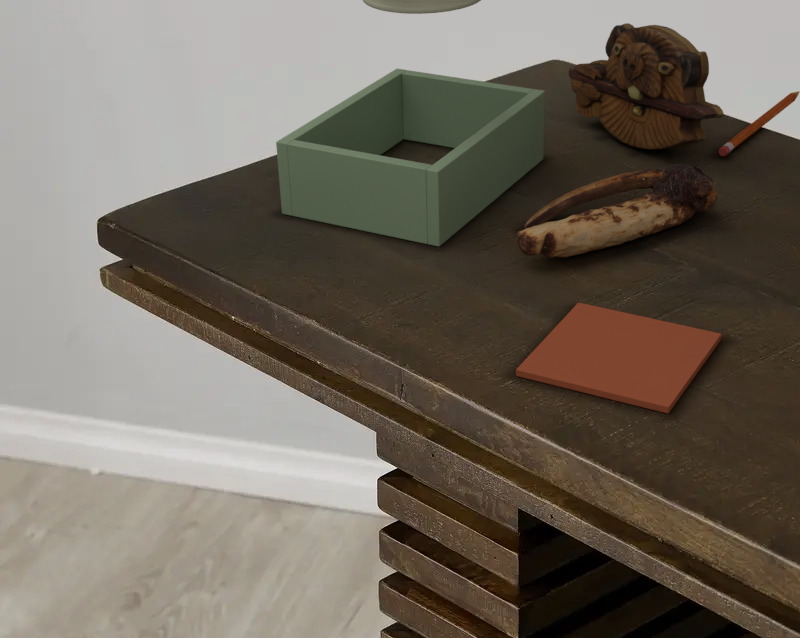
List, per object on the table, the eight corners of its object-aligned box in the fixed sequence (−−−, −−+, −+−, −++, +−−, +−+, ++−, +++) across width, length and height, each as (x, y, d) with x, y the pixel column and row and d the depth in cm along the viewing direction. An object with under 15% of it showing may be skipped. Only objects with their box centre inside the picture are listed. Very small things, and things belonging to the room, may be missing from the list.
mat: (721, 340, 90) (721, 333, 90) (668, 414, 83) (668, 406, 82) (578, 308, 94) (578, 302, 94) (515, 376, 87) (515, 369, 87)
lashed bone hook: (656, 191, 112) (470, 241, 104) (660, 135, 109) (470, 181, 101) (737, 227, 105) (544, 283, 97) (743, 167, 102) (546, 220, 94)
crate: (543, 159, 117) (545, 90, 114) (439, 247, 103) (438, 171, 100) (398, 134, 123) (396, 68, 120) (281, 214, 109) (275, 141, 106)
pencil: (717, 155, 116) (718, 147, 116) (795, 94, 129) (795, 87, 129) (727, 156, 116) (727, 148, 116) (803, 95, 128) (803, 88, 128)
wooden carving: (551, 126, 123) (554, 14, 118) (587, 113, 126) (592, 3, 121) (696, 178, 113) (707, 57, 107) (732, 163, 115) (744, 44, 110)
